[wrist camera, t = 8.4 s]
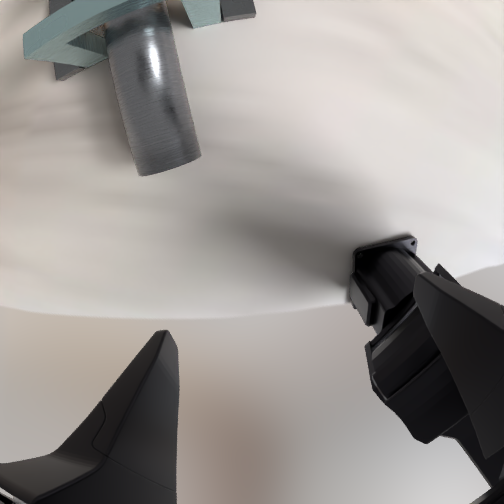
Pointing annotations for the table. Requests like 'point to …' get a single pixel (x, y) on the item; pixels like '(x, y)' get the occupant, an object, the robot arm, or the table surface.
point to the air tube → (151, 89)
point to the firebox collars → (97, 13)
